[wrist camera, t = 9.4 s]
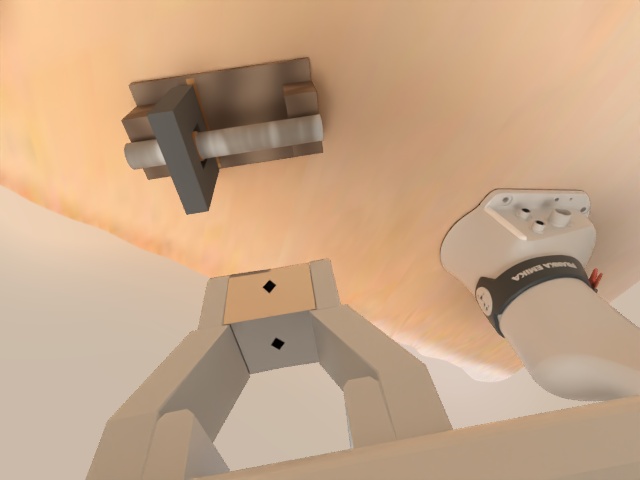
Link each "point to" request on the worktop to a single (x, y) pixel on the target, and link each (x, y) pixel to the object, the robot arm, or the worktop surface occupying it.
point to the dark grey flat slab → (184, 147)
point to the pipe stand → (234, 116)
